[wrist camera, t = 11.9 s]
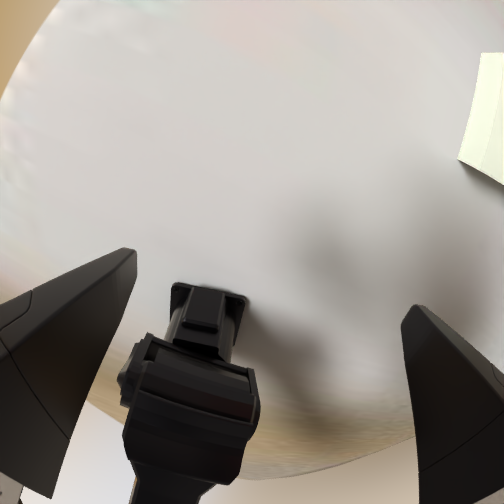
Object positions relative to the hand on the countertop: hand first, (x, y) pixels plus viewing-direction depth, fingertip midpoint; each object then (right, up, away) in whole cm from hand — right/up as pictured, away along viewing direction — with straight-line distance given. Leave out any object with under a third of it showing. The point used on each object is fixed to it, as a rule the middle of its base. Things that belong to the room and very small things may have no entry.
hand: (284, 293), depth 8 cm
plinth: (+21, +12, +7) cm, 25 cm away
